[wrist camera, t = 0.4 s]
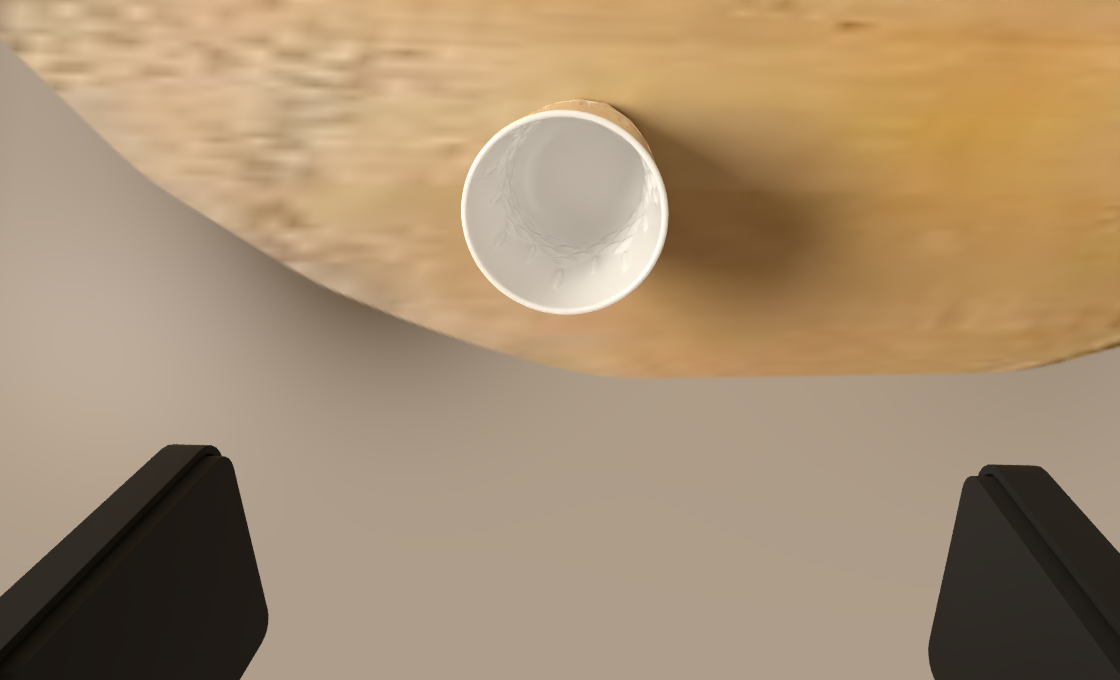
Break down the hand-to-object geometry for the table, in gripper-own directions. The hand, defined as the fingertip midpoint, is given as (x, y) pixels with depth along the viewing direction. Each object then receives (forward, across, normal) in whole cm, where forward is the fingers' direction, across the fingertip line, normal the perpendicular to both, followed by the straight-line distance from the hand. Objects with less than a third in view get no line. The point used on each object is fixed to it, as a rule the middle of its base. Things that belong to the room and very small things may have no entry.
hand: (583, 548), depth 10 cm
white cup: (+30, +2, +1) cm, 30 cm away
